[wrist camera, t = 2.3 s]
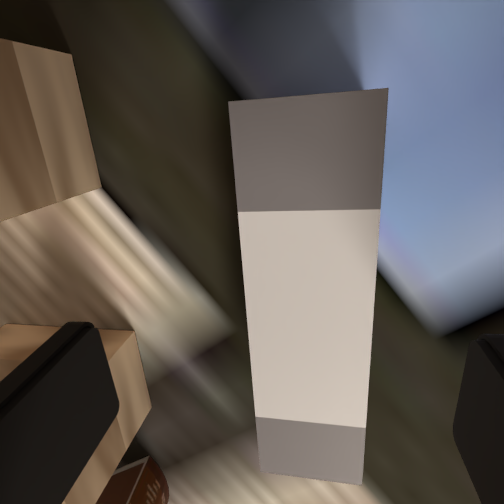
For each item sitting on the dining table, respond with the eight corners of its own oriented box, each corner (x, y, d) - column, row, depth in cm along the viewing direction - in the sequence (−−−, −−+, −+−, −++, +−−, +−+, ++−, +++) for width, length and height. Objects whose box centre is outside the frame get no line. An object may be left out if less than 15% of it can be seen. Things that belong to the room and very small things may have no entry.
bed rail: (365, 96, 13) (388, 87, 8) (352, 390, 18) (362, 485, 13) (259, 104, 14) (228, 101, 9) (275, 384, 19) (260, 471, 14)
